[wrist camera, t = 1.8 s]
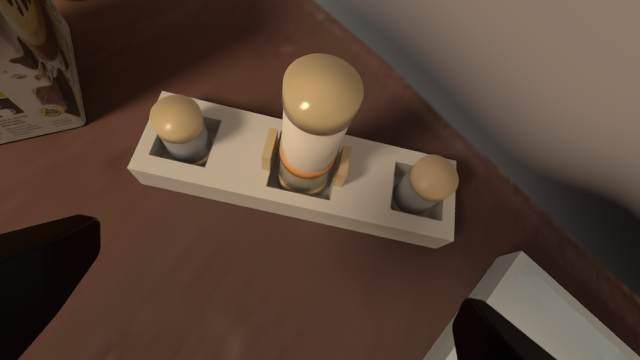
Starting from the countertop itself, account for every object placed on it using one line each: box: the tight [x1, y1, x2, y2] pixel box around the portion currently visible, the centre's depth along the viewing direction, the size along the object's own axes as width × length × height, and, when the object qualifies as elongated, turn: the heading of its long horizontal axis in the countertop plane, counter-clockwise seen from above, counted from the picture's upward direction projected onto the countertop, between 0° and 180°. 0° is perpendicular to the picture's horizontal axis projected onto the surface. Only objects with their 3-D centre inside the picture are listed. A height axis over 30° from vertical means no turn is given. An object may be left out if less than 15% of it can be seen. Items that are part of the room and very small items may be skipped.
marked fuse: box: [277, 54, 364, 197], centre depth 19 cm, size 3×3×10 cm
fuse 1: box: [149, 95, 213, 167], centre depth 21 cm, size 3×3×4 cm
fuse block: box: [128, 91, 456, 249], centre depth 22 cm, size 6×20×4 cm, turn 79°
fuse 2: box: [391, 155, 459, 216], centre depth 22 cm, size 3×3×4 cm
